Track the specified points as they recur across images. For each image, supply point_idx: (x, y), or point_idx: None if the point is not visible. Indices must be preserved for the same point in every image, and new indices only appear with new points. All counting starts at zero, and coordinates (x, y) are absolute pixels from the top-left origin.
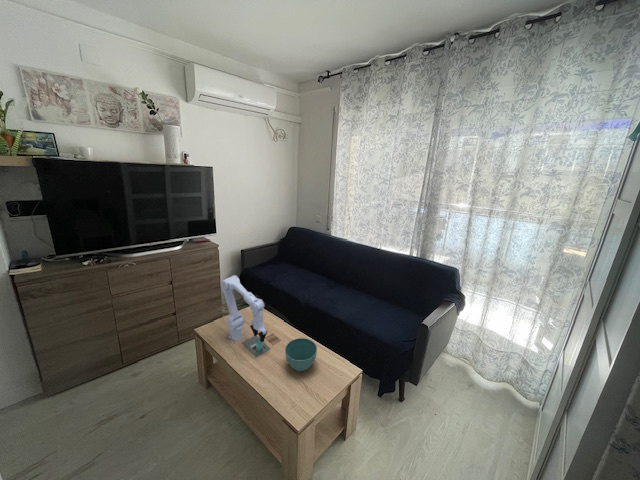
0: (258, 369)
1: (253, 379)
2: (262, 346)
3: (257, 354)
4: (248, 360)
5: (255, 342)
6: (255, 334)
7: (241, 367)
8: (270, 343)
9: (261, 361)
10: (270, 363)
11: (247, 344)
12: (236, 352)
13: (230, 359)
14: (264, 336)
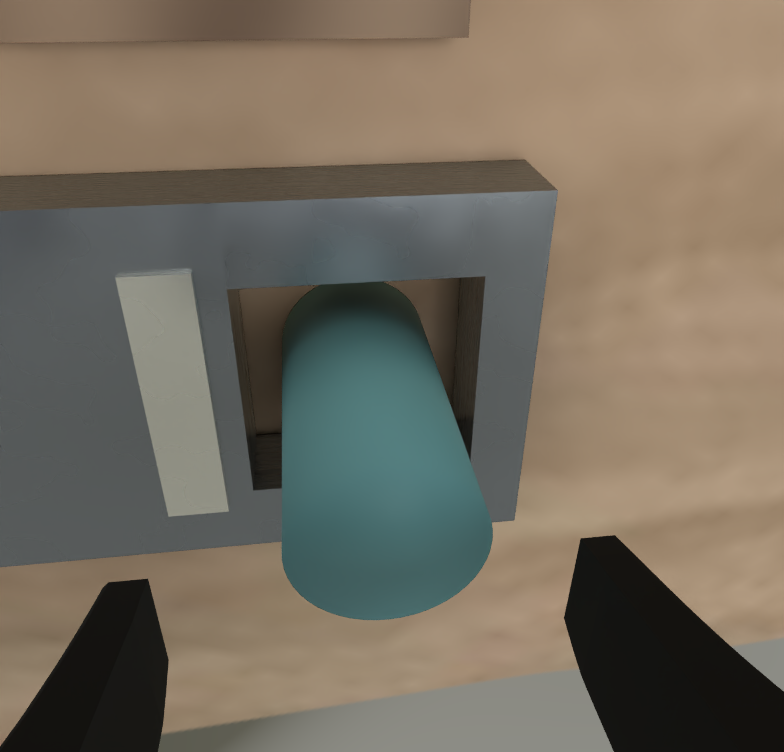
0: (686, 513)
1: (752, 605)
2: (436, 379)
3: (496, 487)
4: None
5: (94, 377)
6: (152, 694)
7: (463, 648)
8: (342, 29)
9: (598, 421)
10: (767, 329)
11: (65, 528)
12: None
13: (212, 706)
14: (756, 716)
